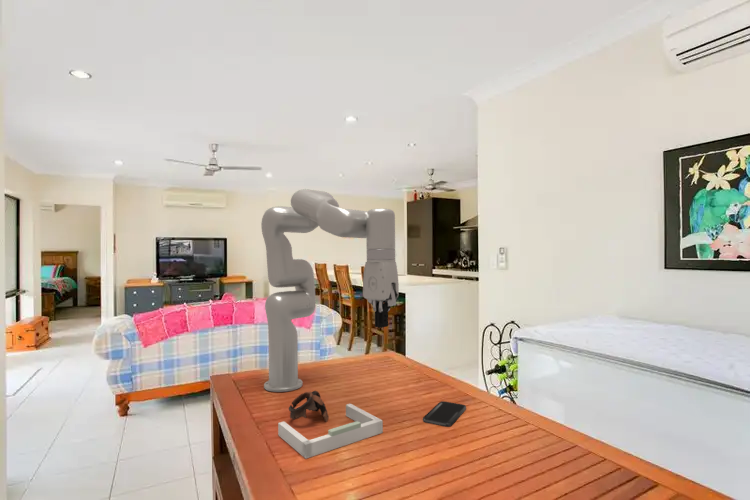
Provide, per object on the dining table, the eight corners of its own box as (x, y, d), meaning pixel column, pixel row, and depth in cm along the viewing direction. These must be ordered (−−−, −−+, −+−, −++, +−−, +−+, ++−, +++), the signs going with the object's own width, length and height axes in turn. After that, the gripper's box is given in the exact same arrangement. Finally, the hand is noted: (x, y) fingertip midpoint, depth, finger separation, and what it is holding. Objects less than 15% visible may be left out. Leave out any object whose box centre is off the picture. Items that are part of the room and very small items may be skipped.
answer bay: (278, 435, 100) (278, 418, 100) (350, 414, 112) (350, 399, 112) (305, 458, 88) (305, 440, 88) (382, 432, 101) (382, 416, 101)
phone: (421, 419, 107) (441, 400, 120) (421, 423, 107) (441, 404, 120) (450, 424, 103) (467, 405, 116) (450, 429, 103) (467, 409, 116)
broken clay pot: (328, 429, 104) (312, 403, 103) (297, 443, 106) (280, 418, 104) (335, 400, 116) (320, 377, 114) (307, 413, 117) (292, 390, 116)
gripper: (353, 256, 110) (353, 324, 110) (387, 256, 99) (388, 332, 98) (375, 256, 115) (375, 321, 115) (410, 256, 103) (411, 329, 103)
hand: (381, 326), depth 107 cm, fingers closed
